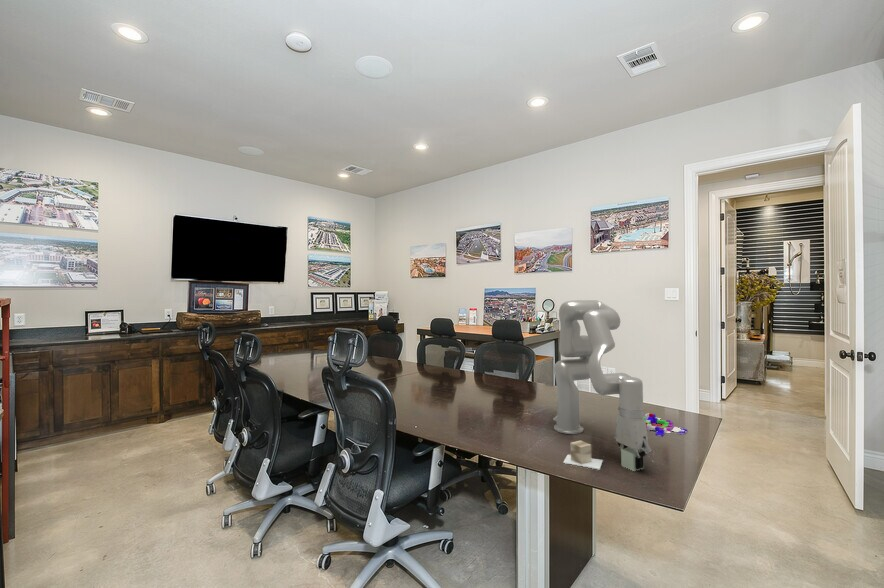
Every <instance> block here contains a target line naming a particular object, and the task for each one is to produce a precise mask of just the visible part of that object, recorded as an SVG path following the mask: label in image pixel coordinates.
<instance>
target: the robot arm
mask: <svg viewBox="0 0 884 588" xmlns="http://www.w3.org/2000/svg"><path fill="white" fill-rule="evenodd" d="M558 319H559V323H560V324H559V325H560V326H559V327H560V328H559V340H558V342H559V344H558V346H559V347H558V351H559V352H558V353H559V354H560V356H562V357H565V358H567V359H561V360H558V361H556V362H555V364H554V366H553V372H554V377H555V382H556V383H555V384H556V385H555V386H556V409H557V410H556V415H555V416H554V417H553V419H552V420H553V421H555V423H556V424H554V425H553V429H554V431H555V432H558V433H559V434H560V433H561V434H564V435H579V434H582V433H583V432H584V427H583V426H582V425H580V424H581V423H580V391H579V388H578V386H577V385H576V384H575V381H585V380H590V383H591V385H592V387H593V390H594V391H595V392H596V393H597V394H599V395H601V396H608V395H619V396H618V397H619V399H618V401H619V403H618V404H619V405H618V407H617V409H618V411H619V414H618V415H617V417H616V423H615V435H614V437H613V439H614V440H615V442H616V443H617V445H618V447H619V450H620V451H621V449H623V448H628V447H630V448H633V449H635V451H636V456H637V457H635V466H636V469H640V468H643V458H644V457H646V456H647V455H649V454H651V452H652V448H651V447H650V445H649V439H648V430H647V428H646V423H645V419H643V417H644V392H643V391H644V386H643V380H642V379H640V378H639V377H633V376H631V375H629V374H627V373H624V372H616V373H615V372H613V373H603V370H602V367H601V360H602V357H603V356H604V355H605V354H607V353H608V352H611V351H612V350H613V349H614V348H615V347H616V342H615V340H614V337H613V335H612V332H611V331H613V330H618V329H619V327H620V326H621V317H620V315H619V313H618V312H617V311H616V310H615V308H612V307H611V306H609V305H608V304H606V303H603V302H602V301H599V300H598V299H597V300H591V299H590V300H589V299H587V300H586V299H585V300H582V299H581V300H579V299H578V300H569V301H568V300H567V301H565V302H563V303H561V305H560V306H559V309H558ZM579 321H582V322H583V324H584V329H585V331H586V334H587V335H581V326H580V324H579ZM639 450H640V452H639Z"/></svg>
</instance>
